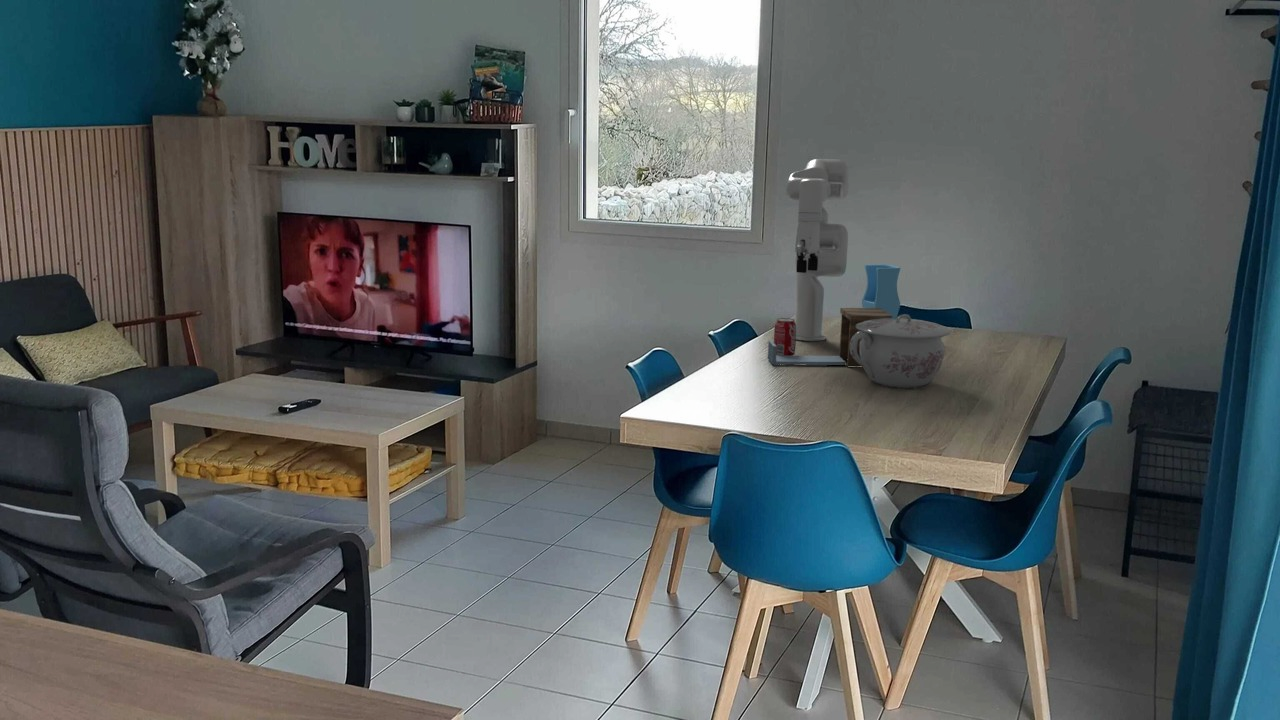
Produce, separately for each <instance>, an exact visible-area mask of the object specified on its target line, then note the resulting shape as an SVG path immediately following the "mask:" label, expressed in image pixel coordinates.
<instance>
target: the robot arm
mask: <svg viewBox="0 0 1280 720" xmlns="http://www.w3.org/2000/svg"><path fill="white" fill-rule="evenodd" d="M785 186H786V187H785V194H786V198H787V199H788V201H789V200H790V201H792V202H798V208H797V209H798V210H797V211H798V215H797V223H798V224H797V229H796V238H795V248H794V251H795V253H796V256H795V271H796V298H795V315H794V316H795V317H794V320H795V321H794V322H795V324H796V341H802V340H803V341H804V342H805V341H806V342H819V341H825V340H826V339H827V335H826V334H825V333H823V320H824V319H823V318H824V300H825V299H824V298H825V288H824V285H823V284H822V282H821V281H820V280H819V278H818V277H821V278H822V277H827V278H828V277H829V278H830V277H831V278H840V277H842V276H844V275H845V273H846V270H847V263H848V262H847V261H848V260H847V259H848V249H849V248H848V245H849V244H848V243H849V234H848V229H847V227H846V226H845V225H844V224H842V223H841V224H840V223H829V222H828V220H829V214H828V210H827V209H826V208H825V207H824V206H823V202H826V201H827V200H829V201H830V200H831V201H842V200H844V199H845V198H846V197H847V195H848V192H849V170H848V166H847V164H846V162H845V161H844V160H842V159H837V158H836V159H834V158H815V159H811V160H810V161H808V162H807V164H806V165H805V168H804V169H802V170H798V171H794V172H792V173H791V174H790V175H789V177H788V179H787V182H786V185H785Z"/></svg>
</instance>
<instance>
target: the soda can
mask: <svg viewBox="0 0 1280 720" xmlns="http://www.w3.org/2000/svg"><path fill="white" fill-rule="evenodd" d="M773 332H774V334H773V343H774V344H775V345H776V346H777V351H776V355H781V356H795V354H796V345H797V343H796V342H797V340H796V324H795V318H792V317H791V318H790V317H779V318H777V319H776V322H775V324H774V331H773Z"/></svg>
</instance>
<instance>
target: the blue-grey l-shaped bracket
mask: <svg viewBox="0 0 1280 720" xmlns="http://www.w3.org/2000/svg"><path fill="white" fill-rule="evenodd" d="M767 344H768V349H767V360H768V359H769V360H768V361H769V363H770V364H771V363H772V364H773V365H772V364H771V365H772V366H783V365H782V364H806V365H805V366H827V365H845V366H846V360H843V359H842V358H841V357H840V356H839V355H792V356H781V355H776V351H777V346H776V345H775V344H774V341H773V340H768V343H767ZM780 364H781V365H780Z"/></svg>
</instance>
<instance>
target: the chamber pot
mask: <svg viewBox="0 0 1280 720" xmlns="http://www.w3.org/2000/svg"><path fill="white" fill-rule="evenodd" d="M856 328H857V329H858V330H860V331H858V332H857V333H856V334H855V335H854V336H852V338H851V340H850V346H849V349H850V353H851V355H852V357H853V358H854V360H855V361H856V362H857V363H859V364H860V365H861V366H862V367H861V368H863V369H864V371H865V373H866V375H867V377H868V378H869V380H871V381H872V382H874V383H876V384H879V385H880V384H881V386H883V385H885V386H884V387H887V386H890V387H889V388H893V387H898V388H897V389H914V387H916V388H920V387H923V386H926V385H929V384H930V383H931V382H932V381H933V379H934V378H935V377H936V375H937V374H938V372H939V371H940V369H941V368H942V365H943V361H944V358H945V351H946V350H945V349H946V345H945V343H944V342H943V340H942V338H943V337H946V336H949V335H951V333H952V330H951V329H950V328H949V327H947V326H944V325H941V324H939V323H936V322H933V321H931V322H930V321H927V320H922V319H916V318H915V319H914V318H911V316H910V314H907V313H906V314H905V313H904V314H900V315H897V318H882V319H872V320H867V321H863V322H859V323H858V324H857V325H856ZM859 339H861V340H860V342H859V354H860V357H859V355H858V353H857V343H858V340H859Z"/></svg>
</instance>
